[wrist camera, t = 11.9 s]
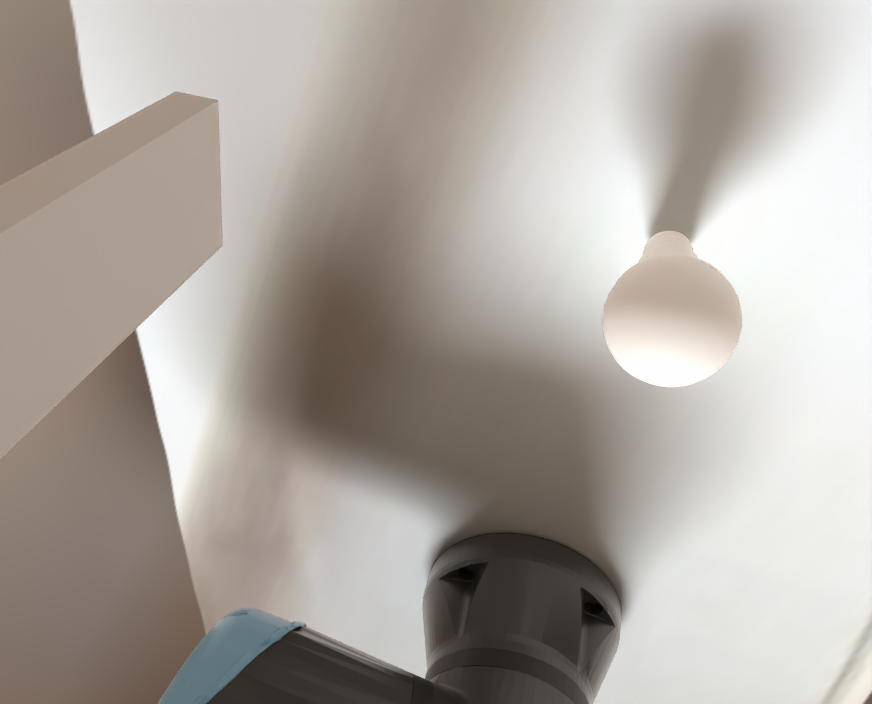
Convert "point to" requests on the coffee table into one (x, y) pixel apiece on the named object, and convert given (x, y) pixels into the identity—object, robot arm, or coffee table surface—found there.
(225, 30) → the coffee table surface
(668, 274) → the lightbulb
